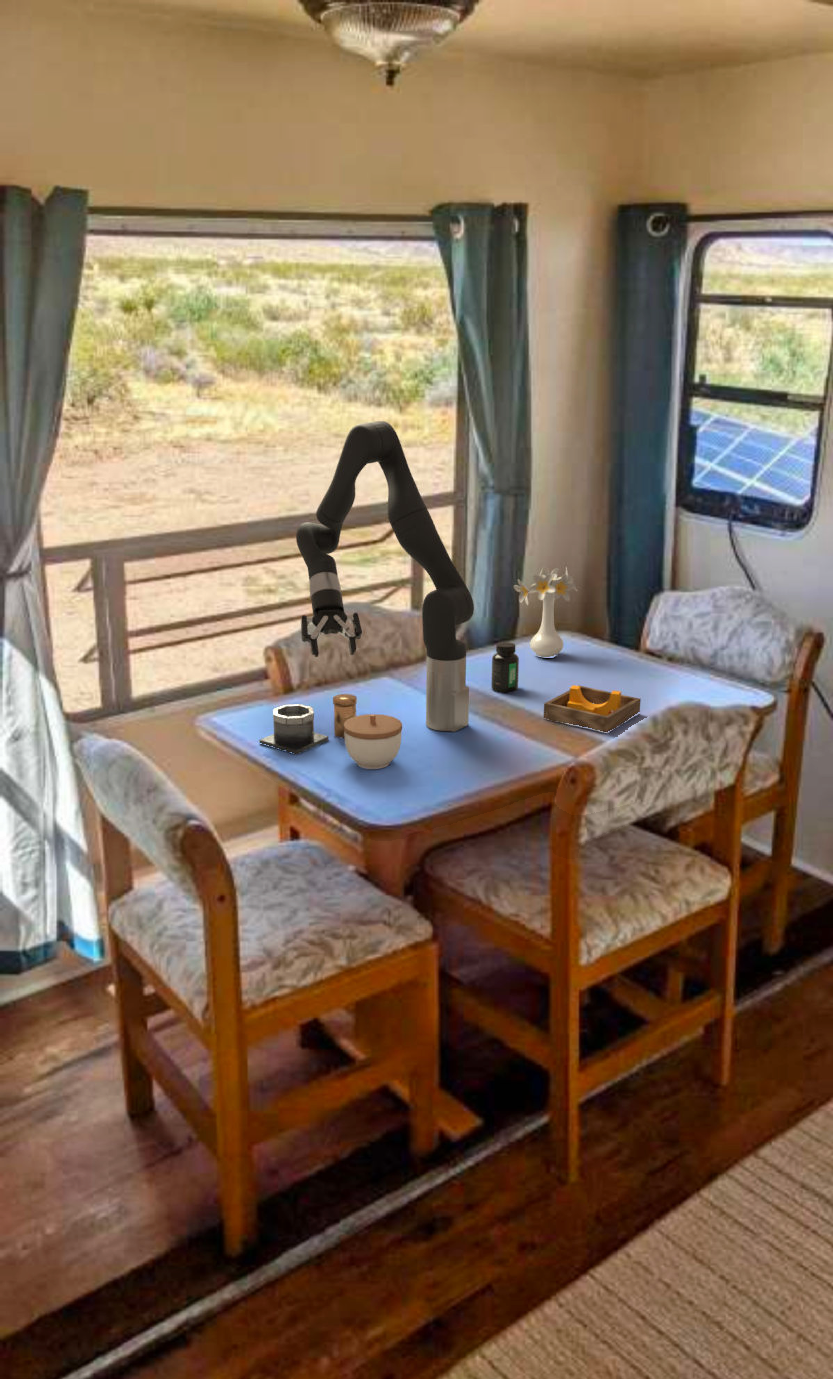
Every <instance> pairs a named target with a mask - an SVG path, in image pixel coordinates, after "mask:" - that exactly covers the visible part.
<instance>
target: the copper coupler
mask: <svg viewBox="0 0 833 1379" xmlns="http://www.w3.org/2000/svg"><path fill="white" fill-rule="evenodd" d="M357 702H358V701H357V696H356V695H355V694H350V693H340V694H336V695H335V696H334V695H333V697H332V703H333V704H332V705H333V714H334V716H333V717H334V718H333V719H334V722H333V724H334V728H333V729H334V730H333V731H334V736H335V737H337V738H340V739H345V736H344V723H345V721H346V720H348V719H350V718H352V717H355V716H357Z"/></svg>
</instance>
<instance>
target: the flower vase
mask: <svg viewBox="0 0 833 1379" xmlns="http://www.w3.org/2000/svg"><path fill="white" fill-rule="evenodd" d="M559 572H560V568H559V567H557V568H554V569H553V570H552V571H551V572H550V570H549V568H548V567H547V566H542V568H541V570H540V572H539V574H537V573H535V574H533V576H532V579H533V581H534V583H533V584H531V585H530V586H529V587H527V586H526V585H525V584H523V582H522V581H521V579H517V583H518V585H517V584H515V585H513V589H514V590H515V591H516V592H518V593H520V594H519V595H518V602H519V603H520V604H522V603H524V601H525V604H526V605H527V606H529V604H530V603H529V597H530V596H529V595H530V594H532V593H537V598H538V600H539V601H542V615H541V616H542V617H541V624H540V627H539V629H538V631H537V633H536V634H534V635H533V636H532V638H531V640H530V643H529V646H530V649H531V650H532V651H533V653H536V655H538V656H541V657H550V656H554V655H556V654H557V655H558V654H559V653H560V652H561V651H562V650H563V648H564V642H563V639H562V637H561V636H560V635H559V633H557V631H556V627H555V621H554V613H555V612H554V610H555V608H554V607H555V606H554V605H555V601H557V600H559V599H560V598H561V597H562V598H563V599H564V600H565V601H566V602H570V601H571V596H570V593H569V592H570V591H572V590H574V591H575V592H579V591H578V589H577V587H576V584H575V583H574V581H575V580H574V578H573V576H572V575H569V570H568V567H567V566H566V567H565V573H564V574H562V575H561V576H559V577H558V574H559ZM536 655H535V656H536Z"/></svg>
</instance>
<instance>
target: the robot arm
mask: <svg viewBox="0 0 833 1379" xmlns="http://www.w3.org/2000/svg"><path fill="white" fill-rule="evenodd" d="M373 463H378V464H379V466H380V468H381V470H382V473H383V475H384V477H385V480H386V483H387V488H388V490H387V491H388V494H387V496H388V497H387V498H388V499H387V518H388V522H389V524H390V527H391V529H392V531H393V533H394V535H395V538H396V539H397V542H398V543H399V545H400V547H401V548H402V549H403V550H404V551H405V552H406V553H407V554H408V555H409V556H410V557H411V558H412V559H413V560H414V561H415V562H416V563H417V564H419V566H421V567H422V568H423V569H424V571H425V572H426V573H427V575H428V576H429V578H430V579H431V582H432V583H433V586H434V587H435V589H434V590H432V591H430V592H428V593H427V594H426V596H425V597H424V599H423V601H422V608H421V609H422V610H421V611H422V612H421V618H422V621H421V622H422V639H423V640H422V641H423V643H424V646H425V649H426V676H425V677H426V681H425V682H426V684H425V685H426V690H425V692H426V693H425V694H426V696H425V699H426V701H425V708H426V709H425V725H426V727H427V728H430V729H431V730H434V731H438V732H439V731H441V732H453V733H454V732H457V731H459V730H461V729H462V728H463V729H464V727H467V726H469V720H470V718H469V716H470V715H469V713H470V712H469V711H470V687H469V686H467V685H466V682H467V681H466V680H467V678H466V676H467V675H466V674H467V673H466V672H467V644H466V643H465V642H464V641H462V640H461V639H457V635H456V632H457V631H456V626H459V625H462V624H464V623H466V622H468V621H470V619H472V617H473V615H474V612H475V605H474V604H475V603H474V599H473V597H472V595H471V592H470V591H469V590H470V589H469V588H468V587H467V585H466V583H465V582H464V580H463V578H462V576H461V575H460V573H459V571H458V570H457V568H456V566H455V564H454V562H453V561H452V558H451V557H450V555H449V553H448V551H447V549H446V546H445V545H444V542H443V541H442V539H441V536H440V534H439V533H438V530H437V527H436V526H435V523H434V520H433V518H432V516H431V514H430V512H429V509H428V507H427V505H426V504H425V502H424V500H423V498H422V496H421V493H420V490H419V489H418V486H417V484H416V482H415V479H414V476H413V475H412V472H411V470H410V466H409V464H408V461H407V458H406V456H405V452H404V449H403V446H402V444H401V441H400V438H399V436H398V434H397V432H396V430H395V429H394V427H393V426H392V425H391V424H390V423H389V422H387V421H384V420H375V421H370V422H363V423H358V424H356V425H354V426H352V428H350V430H349V431H348V433H347V436H346V438H345V441H344V444H343V447H342V450H341V453H340V456H339V459H338V462H337V465H336V469H335V470H334V474H333V477H332V480H331V482H330V484H329V486H328V489H327V490H326V492H325V494H324V496H323V498H322V500H321V502H320V503H319V506H318V507H317V509H316V513H315V517H316V519H317V521H318V522H319V523H314V522H310V521H309V522H308V521H307V522H303V523H301V524H300V525H299V526H298V528H297V530H296V535H295V541H296V544H297V545H296V546H297V548H298V550H299V552H300V555H301V557H302V559H303V561H304V563H305V565H306V568H307V573H308V579H309V580H308V581H309V598H310V601H311V609H312V617H311V616H307V615H305V614H303V615H301V619H300V632H301V640H302V642H304V643H306V642H307V643H309V646H310V653H311V655H313V656H314V657H315V658H318V657H319V654H320V652H319V644H318V638H319V637H320V636H321V634H324V635H330V634H333V635H336V634H338V633H339V634H340V635H341V636H342V637H344V638H345V639H347V640H348V642H347V643H348V648H349V655H350V656H354V654H355V653H356V651H357V643H356V640H360V639H361V637H362V634H363V630H362V625H361V620H360V617H359V613H358V612H354V613H352V614H348V615H347V614H346V612H345V608H344V602H343V601H344V600H343V595H342V589H341V584H340V579H339V576H338V569H337V563H336V560H335V558H334V557H333V556H332V555H330V554H332V553H333V552H335V551H336V550H337V548H338V546H339V542H340V538H341V532H342V528H343V525H344V522H345V520H346V518H347V516H348V515H349V513H350V511H351V509H352V507H353V505H354V503H355V499H356V482H357V481H356V480H357V478H358V476H359V474H360V473H361V472H362V470H363V469H364V468H365V467H366V465H368V464H373ZM347 621H348V622H349V624H350V625H352V627H353V630H354V631H352V629H350V627H349V625H348V624H346V623H347ZM311 623H312V624H313V625H314V626H315V628H314V630H313V632H312V633H311V634H309V631H308V630H309V629H308V628H309V626H310V624H311Z"/></svg>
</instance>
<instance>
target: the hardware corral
mask: <svg viewBox="0 0 833 1379" xmlns="http://www.w3.org/2000/svg"><path fill="white" fill-rule="evenodd" d="M579 686H580V688H581V693H582V695H583V696H584V698H585V699H586V700H587V701H589V702H591V703H594V704H603V703H606V702H607V701H608V700H609V699H610V695H611V693H612V691H611V692H610V691H606V690H602V689H599V688H598V689H597V688H592V687H586V686H583V685H579ZM569 696H570V689H569V690H567V691H565V692H563V693H561V694H560V695H557V696H555V697H553V698H551V699H549V700H548V701H546V702H545V703H543V704H544V705H543V718H546V719H549V720H552V721H551V722H554V721H558V722H561V723H560V724H562V722H563V723H569V724H573V725H579V726H582V727H588V728H592V729H595V730H600V731H603V732H608V731H610V730H612V729H614V728H616V727H617V726H619V725H621V724H622V723H624V722H625V721H627V720H628V719H629V718H631V717H632V716H634V715H635V714H637V713H638V712H640V713H641V703H642V702H641V699H642V698H638V697H635V696H629V695H624V694H621V702H620V708H619V709H617V710H615V711H614V712H613V711H612V713H610V714H608V715H607V716H604V715H600V714H595V713H591V712H587V711H582V710H578V709H574V708H569V707H567V703H568V702H569ZM549 720H548V721H549ZM558 722H557V723H558ZM624 724H625V723H624ZM621 726H622V725H621ZM616 729H617V728H616Z"/></svg>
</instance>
